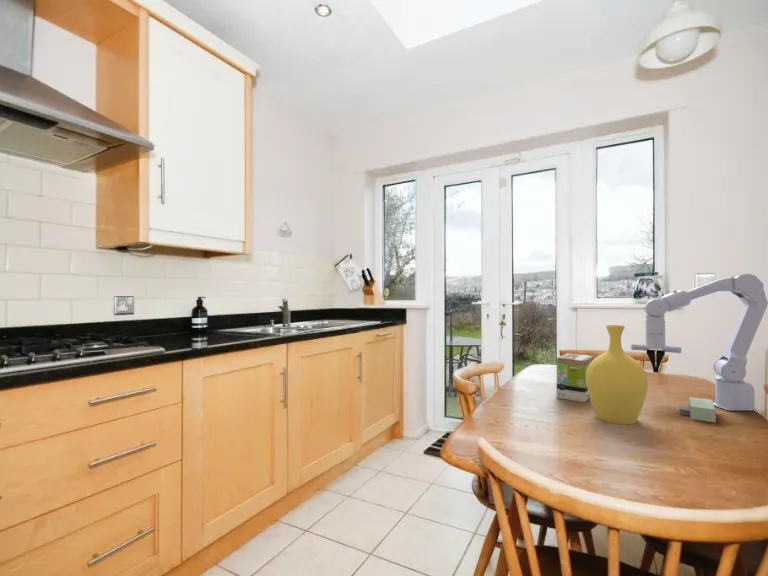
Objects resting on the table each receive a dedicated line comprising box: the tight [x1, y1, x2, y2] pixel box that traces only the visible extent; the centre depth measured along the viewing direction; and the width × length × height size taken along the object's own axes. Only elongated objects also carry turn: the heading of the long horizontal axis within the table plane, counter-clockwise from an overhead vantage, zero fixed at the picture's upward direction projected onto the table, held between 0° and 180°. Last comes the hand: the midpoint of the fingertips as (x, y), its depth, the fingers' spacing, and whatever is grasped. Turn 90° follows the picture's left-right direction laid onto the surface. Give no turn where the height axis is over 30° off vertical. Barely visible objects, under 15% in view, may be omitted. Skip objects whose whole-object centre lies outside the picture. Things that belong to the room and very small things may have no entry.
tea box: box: [556, 353, 595, 403], centre depth 144 cm, size 15×10×15 cm, turn 143°
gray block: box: [678, 405, 691, 417], centre depth 122 cm, size 7×5×2 cm
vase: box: [586, 324, 649, 425], centre depth 118 cm, size 16×16×28 cm
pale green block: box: [688, 396, 717, 424], centre depth 121 cm, size 6×13×4 cm, turn 144°
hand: (655, 371), depth 139 cm, fingers closed
